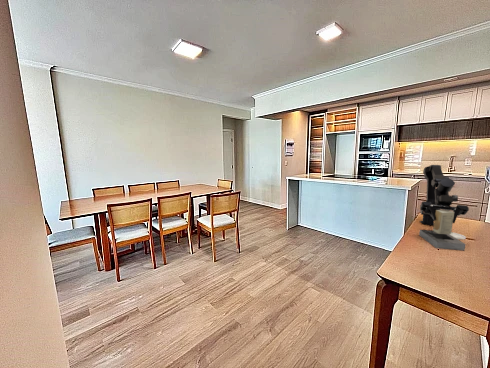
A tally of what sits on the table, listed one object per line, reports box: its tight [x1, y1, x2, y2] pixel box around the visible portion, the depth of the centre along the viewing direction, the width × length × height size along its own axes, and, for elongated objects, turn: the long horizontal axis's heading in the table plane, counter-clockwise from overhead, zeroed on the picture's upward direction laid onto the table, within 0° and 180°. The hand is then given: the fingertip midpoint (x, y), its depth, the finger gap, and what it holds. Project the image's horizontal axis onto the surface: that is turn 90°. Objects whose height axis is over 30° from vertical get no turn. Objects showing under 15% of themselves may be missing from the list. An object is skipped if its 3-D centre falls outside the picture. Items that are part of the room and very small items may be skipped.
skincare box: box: [432, 209, 454, 234], centre depth 112 cm, size 6×4×12 cm
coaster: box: [450, 231, 467, 240], centre depth 122 cm, size 9×9×1 cm
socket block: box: [418, 229, 466, 251], centre depth 114 cm, size 16×12×4 cm
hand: (444, 221), depth 111 cm, fingers closed on skincare box, 7 cm apart
